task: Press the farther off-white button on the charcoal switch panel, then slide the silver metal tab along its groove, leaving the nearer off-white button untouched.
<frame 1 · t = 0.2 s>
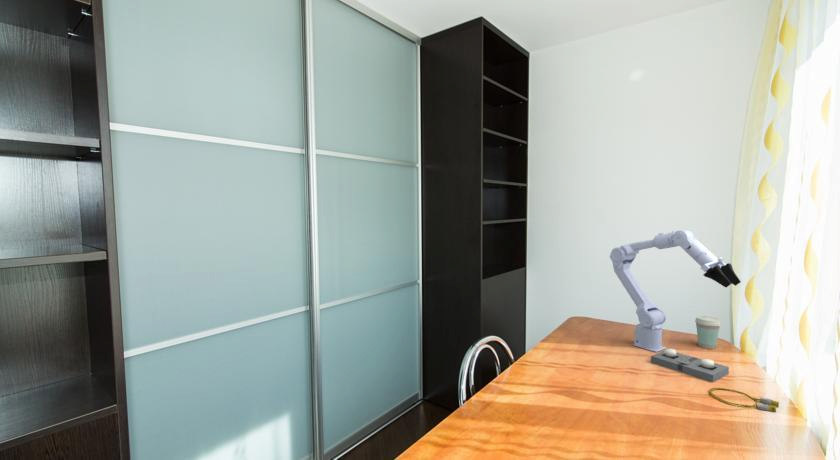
hand: (733, 284, 134), 31 cm above the table, tool tilted 45°, fingers open, 7 cm apart
switch panel: (688, 368, 139), on the table
coffee cup: (707, 347, 160), on the table
extension cord: (741, 402, 116), on the table
button 2: (707, 363, 134), point 4 cm above the table, slide at 0.0 cm
slider tab: (684, 358, 138), point 4 cm above the table, slide at 0.0 cm
button 1: (670, 352, 144), point 4 cm above the table, slide at 0.0 cm
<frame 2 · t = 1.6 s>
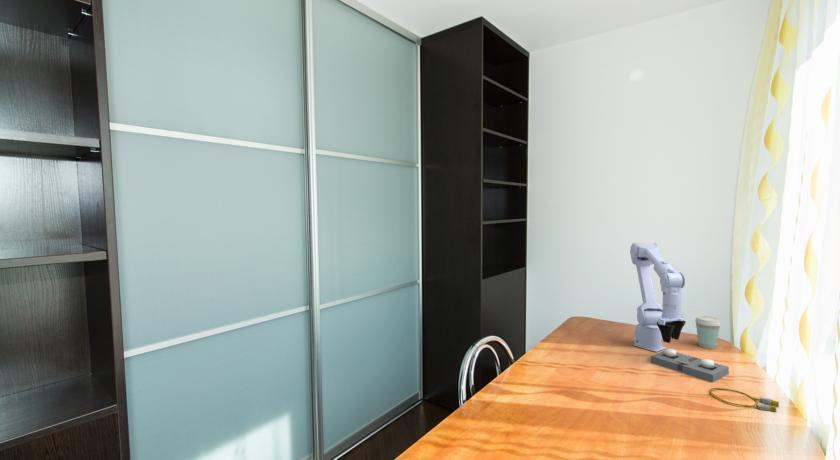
hand: (670, 340, 144), 8 cm above the table, tool pointing down, fingers open, 6 cm apart
nothing on the table moved.
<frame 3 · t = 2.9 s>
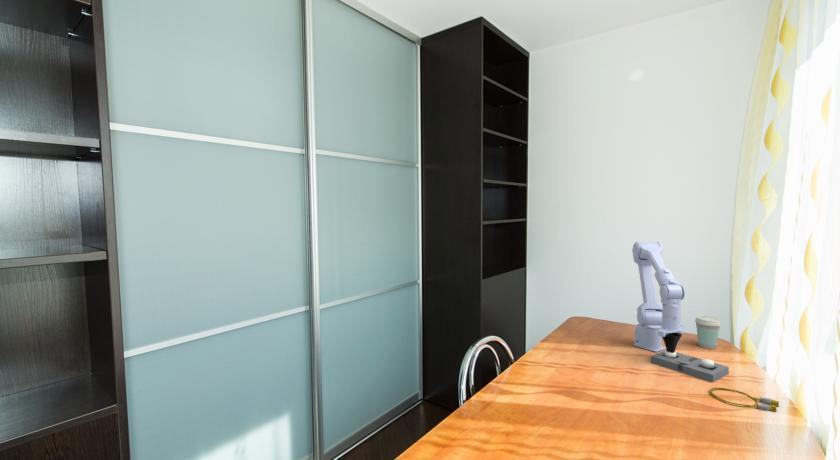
hand: (670, 352, 144), 4 cm above the table, tool pointing down, fingers closed, pressing on button 1
button 1: (670, 354, 144), point 3 cm above the table, slide at 0.7 cm, touching gripper
everything else where it was.
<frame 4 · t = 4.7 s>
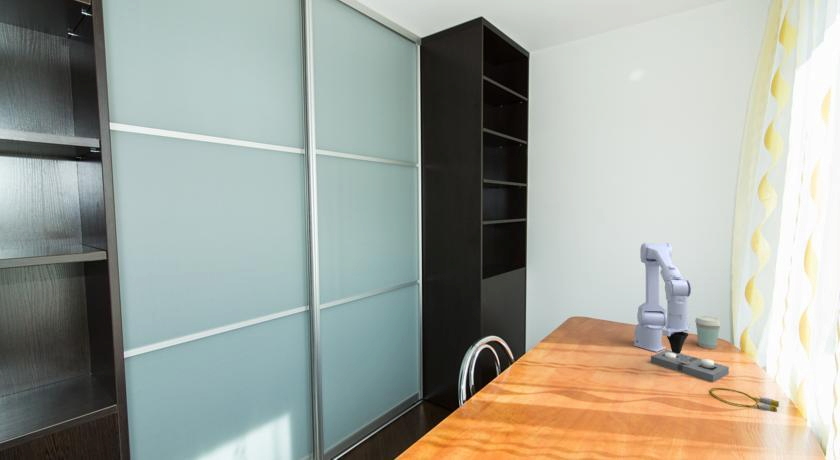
hand: (676, 352, 134), 8 cm above the table, tool pointing down, fingers closed
button 1: (670, 356, 144), point 2 cm above the table, slide at 1.5 cm
everything else where it was.
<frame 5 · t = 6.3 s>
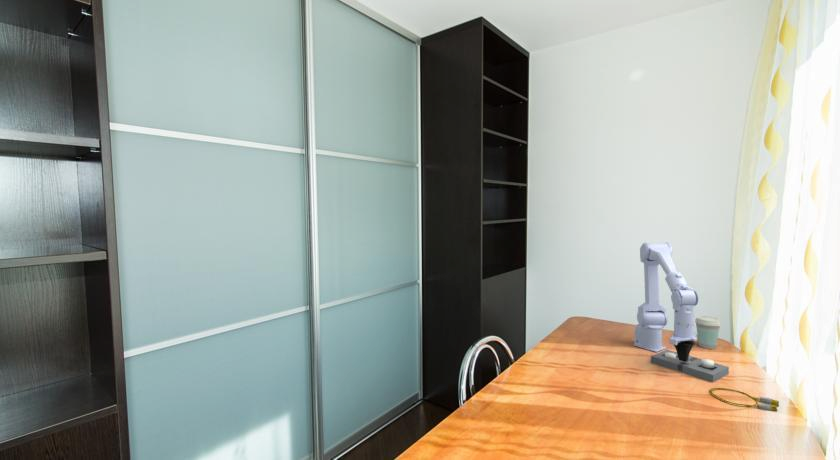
hand: (682, 360, 137), 4 cm above the table, tool pointing down, fingers closed
slider tab: (685, 358, 138), point 4 cm above the table, slide at 0.8 cm, touching gripper
everything else where it was.
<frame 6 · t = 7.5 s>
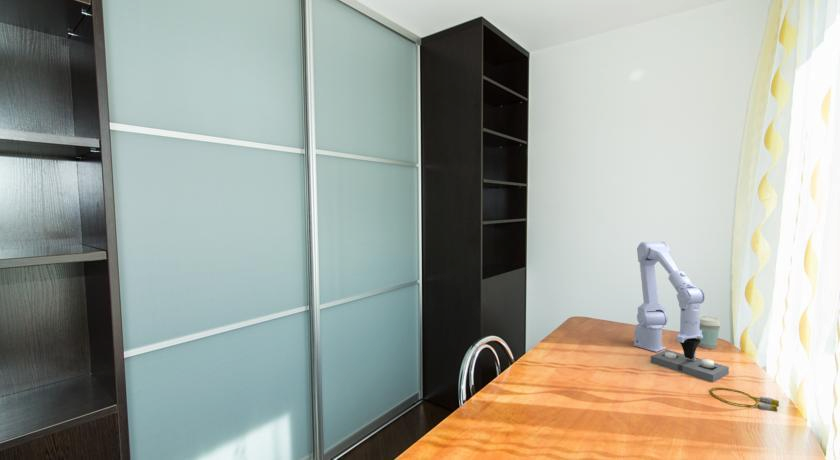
hand: (689, 357, 139), 4 cm above the table, tool pointing down, fingers closed
slider tab: (691, 355, 140), point 4 cm above the table, slide at 5.2 cm, touching gripper
everything else where it was.
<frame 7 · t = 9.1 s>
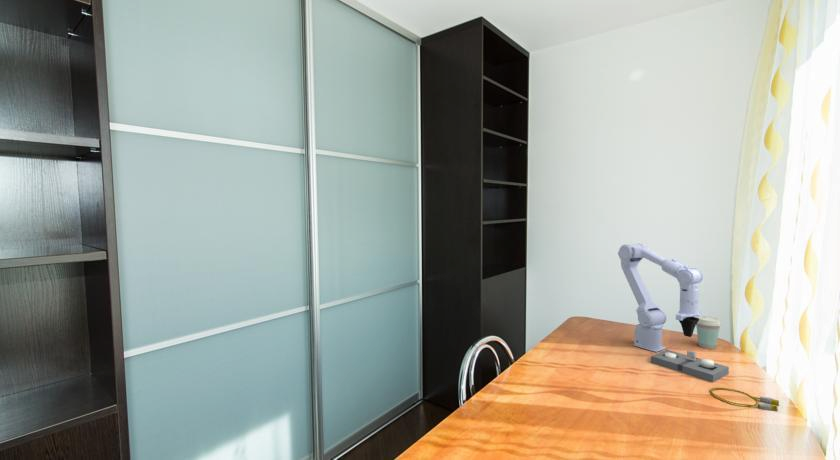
hand: (687, 336, 146), 9 cm above the table, tool pointing down, fingers closed
slider tab: (691, 355, 140), point 4 cm above the table, slide at 5.2 cm
everything else where it was.
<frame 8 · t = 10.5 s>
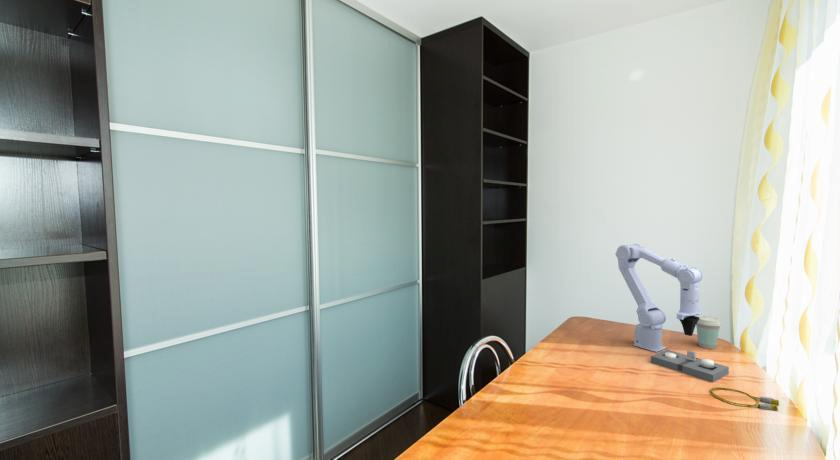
hand: (688, 335, 147), 9 cm above the table, tool pointing down, fingers closed
nothing on the table moved.
at the end: button 1 slide at 1.5 cm; slider tab slide at 5.2 cm; button 2 slide at 0.0 cm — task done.
